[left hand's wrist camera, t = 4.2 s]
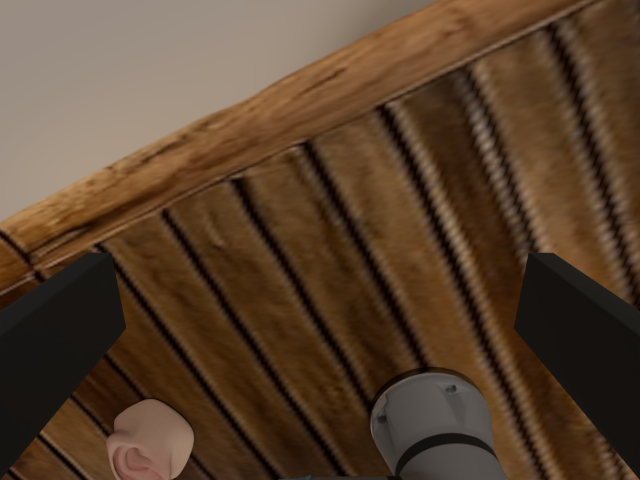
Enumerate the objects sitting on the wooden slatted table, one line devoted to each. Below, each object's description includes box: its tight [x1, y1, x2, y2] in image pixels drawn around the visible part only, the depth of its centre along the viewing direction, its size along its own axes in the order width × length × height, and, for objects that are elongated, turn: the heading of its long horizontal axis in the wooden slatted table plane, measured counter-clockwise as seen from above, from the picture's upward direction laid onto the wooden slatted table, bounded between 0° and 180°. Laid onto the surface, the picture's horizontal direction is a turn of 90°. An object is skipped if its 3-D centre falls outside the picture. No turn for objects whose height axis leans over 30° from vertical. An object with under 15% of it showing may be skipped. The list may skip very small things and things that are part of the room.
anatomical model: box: [106, 399, 194, 480], centre depth 52 cm, size 13×4×12 cm
